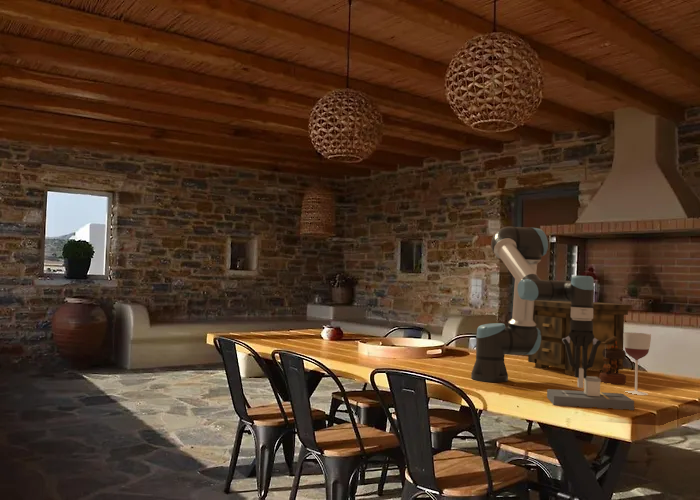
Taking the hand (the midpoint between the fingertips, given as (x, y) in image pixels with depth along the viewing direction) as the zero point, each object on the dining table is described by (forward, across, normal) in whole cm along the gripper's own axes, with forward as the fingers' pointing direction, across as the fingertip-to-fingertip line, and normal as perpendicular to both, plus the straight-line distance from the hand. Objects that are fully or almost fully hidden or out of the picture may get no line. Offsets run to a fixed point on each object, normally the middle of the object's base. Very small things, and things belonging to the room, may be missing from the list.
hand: (580, 387), depth 220 cm
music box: (+6, +25, +54) cm, 60 cm away
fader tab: (+2, +4, 0) cm, 5 cm away
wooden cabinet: (+6, +14, +85) cm, 87 cm away
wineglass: (+6, +27, +29) cm, 40 cm away
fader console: (+6, +3, 0) cm, 6 cm away
